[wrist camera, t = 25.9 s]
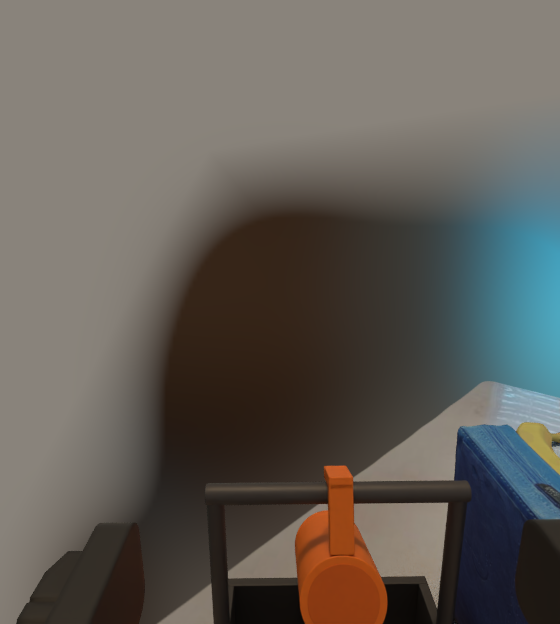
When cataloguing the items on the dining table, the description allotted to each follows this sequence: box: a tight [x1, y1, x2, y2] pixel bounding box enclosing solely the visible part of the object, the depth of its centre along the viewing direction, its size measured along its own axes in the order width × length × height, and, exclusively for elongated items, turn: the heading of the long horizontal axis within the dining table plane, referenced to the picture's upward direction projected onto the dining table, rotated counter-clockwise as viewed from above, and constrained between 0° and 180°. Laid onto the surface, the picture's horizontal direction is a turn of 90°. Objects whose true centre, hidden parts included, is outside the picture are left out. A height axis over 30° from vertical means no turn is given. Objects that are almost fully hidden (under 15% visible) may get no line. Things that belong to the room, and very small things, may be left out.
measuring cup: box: [295, 466, 388, 624], centre depth 34 cm, size 10×6×9 cm
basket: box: [205, 480, 472, 624], centre depth 34 cm, size 18×12×20 cm, turn 90°
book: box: [454, 425, 560, 624], centre depth 36 cm, size 14×5×20 cm, turn 2°
